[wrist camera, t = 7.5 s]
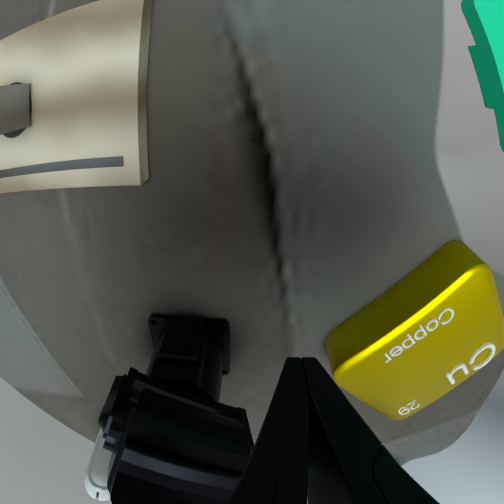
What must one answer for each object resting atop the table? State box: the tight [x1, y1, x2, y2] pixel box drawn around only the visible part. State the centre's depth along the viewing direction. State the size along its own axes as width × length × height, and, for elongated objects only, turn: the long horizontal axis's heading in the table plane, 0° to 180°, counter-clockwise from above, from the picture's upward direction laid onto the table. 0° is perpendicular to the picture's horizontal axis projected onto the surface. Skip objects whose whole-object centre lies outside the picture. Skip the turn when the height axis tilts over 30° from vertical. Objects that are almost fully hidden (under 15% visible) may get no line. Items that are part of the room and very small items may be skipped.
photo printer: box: [85, 427, 112, 501], centre depth 28 cm, size 10×4×12 cm, turn 154°
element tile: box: [325, 240, 504, 420], centre depth 22 cm, size 15×15×5 cm
